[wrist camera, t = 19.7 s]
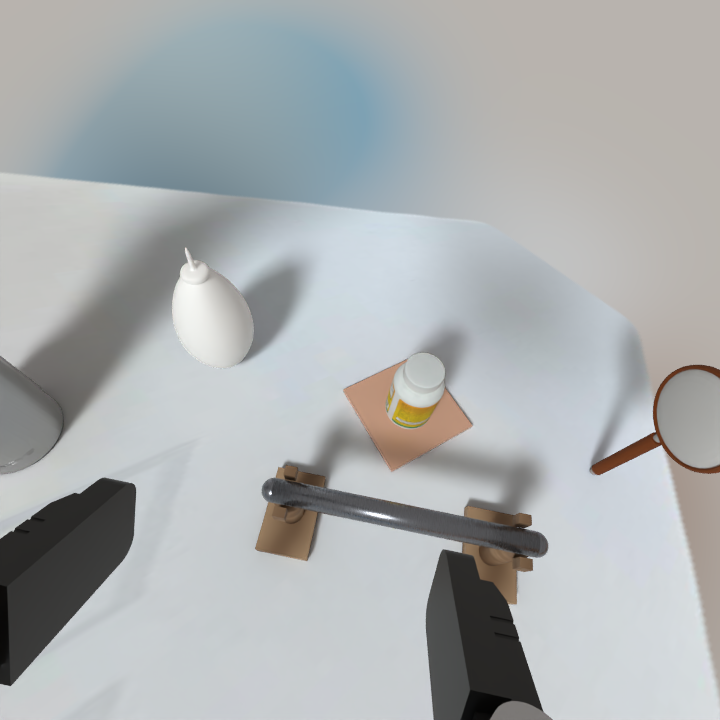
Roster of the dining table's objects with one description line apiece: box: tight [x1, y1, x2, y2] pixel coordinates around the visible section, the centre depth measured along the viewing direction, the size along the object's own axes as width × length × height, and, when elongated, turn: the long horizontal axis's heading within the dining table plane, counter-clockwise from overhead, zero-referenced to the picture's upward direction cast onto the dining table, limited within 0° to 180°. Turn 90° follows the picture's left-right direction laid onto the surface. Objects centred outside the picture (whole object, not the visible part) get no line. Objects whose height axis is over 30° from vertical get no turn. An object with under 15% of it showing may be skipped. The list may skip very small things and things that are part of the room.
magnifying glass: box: [590, 365, 720, 475], centre depth 39 cm, size 9×2×20 cm, turn 1°
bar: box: [262, 478, 548, 558], centre depth 35 cm, size 24×2×2 cm, turn 80°
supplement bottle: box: [385, 353, 445, 429], centre depth 45 cm, size 5×5×10 cm
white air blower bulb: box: [172, 248, 254, 369], centre depth 44 cm, size 8×8×18 cm
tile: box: [343, 359, 472, 472], centre depth 50 cm, size 11×11×1 cm
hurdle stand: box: [255, 465, 533, 604], centre depth 39 cm, size 25×8×10 cm, turn 80°
